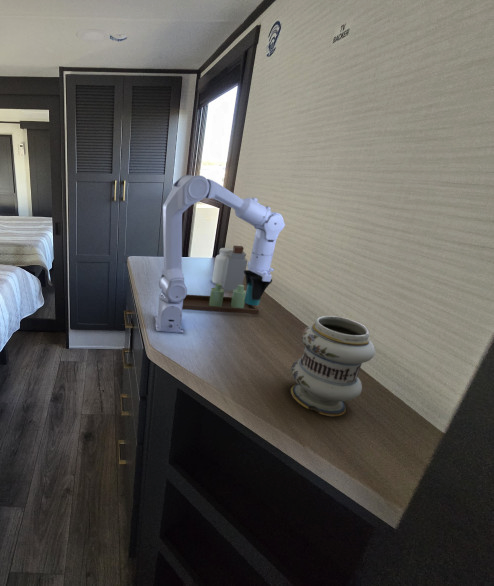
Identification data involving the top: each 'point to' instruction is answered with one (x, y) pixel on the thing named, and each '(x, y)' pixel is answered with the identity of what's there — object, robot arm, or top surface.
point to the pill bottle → (220, 265)
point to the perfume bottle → (234, 268)
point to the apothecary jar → (331, 364)
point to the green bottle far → (238, 297)
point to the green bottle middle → (216, 296)
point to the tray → (203, 305)
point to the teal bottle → (250, 296)
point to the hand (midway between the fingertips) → (253, 296)
